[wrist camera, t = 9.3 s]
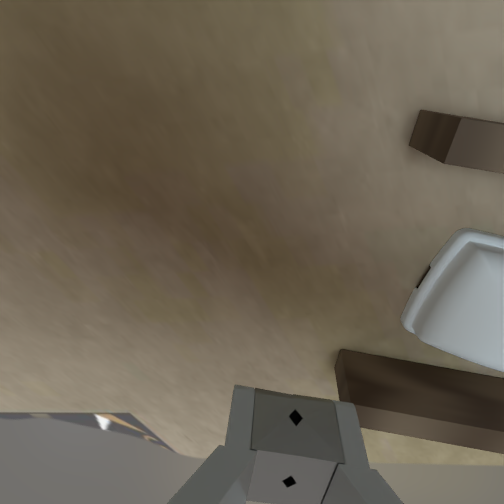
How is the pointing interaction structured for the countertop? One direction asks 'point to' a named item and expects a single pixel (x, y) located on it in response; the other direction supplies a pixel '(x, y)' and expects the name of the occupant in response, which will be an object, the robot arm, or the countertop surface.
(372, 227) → the countertop surface
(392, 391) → the brown wooden u-shaped frame
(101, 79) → the countertop surface
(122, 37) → the countertop surface
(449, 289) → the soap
